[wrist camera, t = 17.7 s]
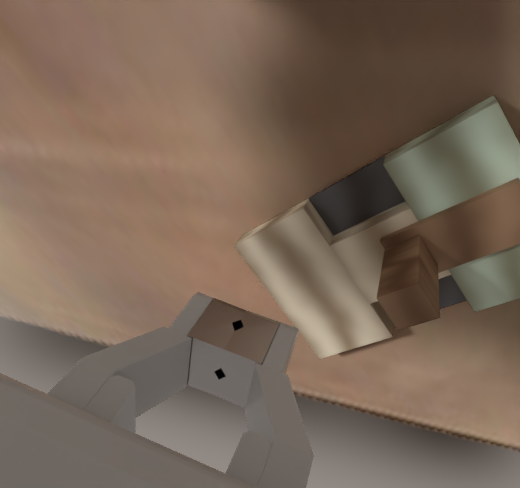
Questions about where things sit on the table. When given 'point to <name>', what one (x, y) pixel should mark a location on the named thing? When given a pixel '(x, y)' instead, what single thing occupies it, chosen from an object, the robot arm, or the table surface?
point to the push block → (444, 251)
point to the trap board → (385, 232)
